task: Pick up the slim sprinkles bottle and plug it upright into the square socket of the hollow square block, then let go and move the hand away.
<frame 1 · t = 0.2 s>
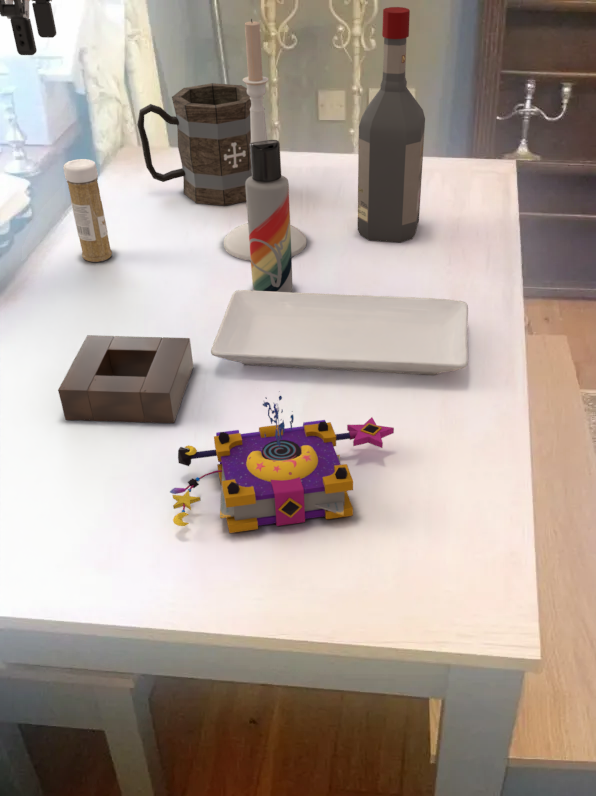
hand: (38, 45, 113), 29 cm above the table, tool pointing down, fingers open, 8 cm apart
mug: (205, 193, 155), on the table
hollow square block: (132, 392, 109), on the table
tray: (343, 350, 116), on the table
sprinkles bottle: (97, 257, 136), on the table
book: (289, 490, 95), on the table
lotion bottle: (273, 292, 128), on the table
candlestick: (265, 245, 140), on the table
liquor: (388, 232, 143), on the table
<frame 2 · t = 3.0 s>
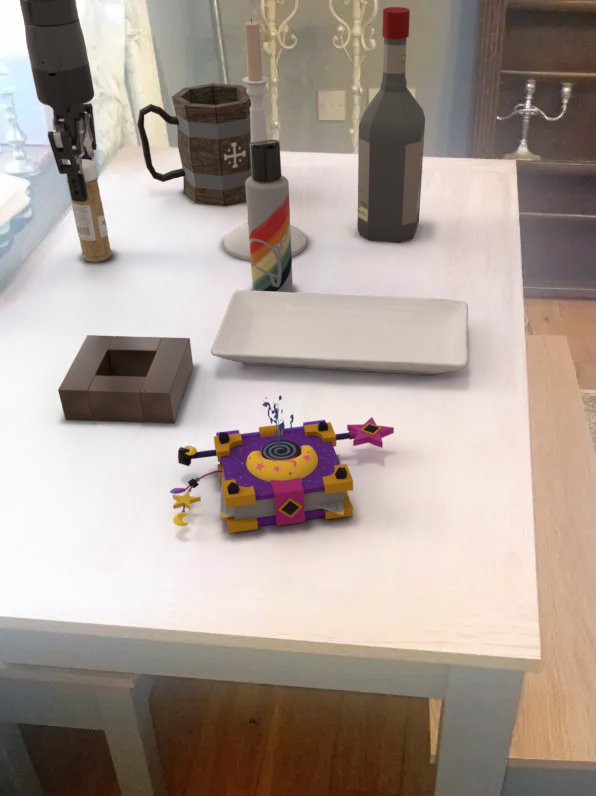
hand: (84, 193, 130), 9 cm above the table, tool pointing down, fingers closed on sprinkles bottle, 4 cm apart
sprinkles bottle: (97, 258, 136), on the table, touching gripper
everything else where it was.
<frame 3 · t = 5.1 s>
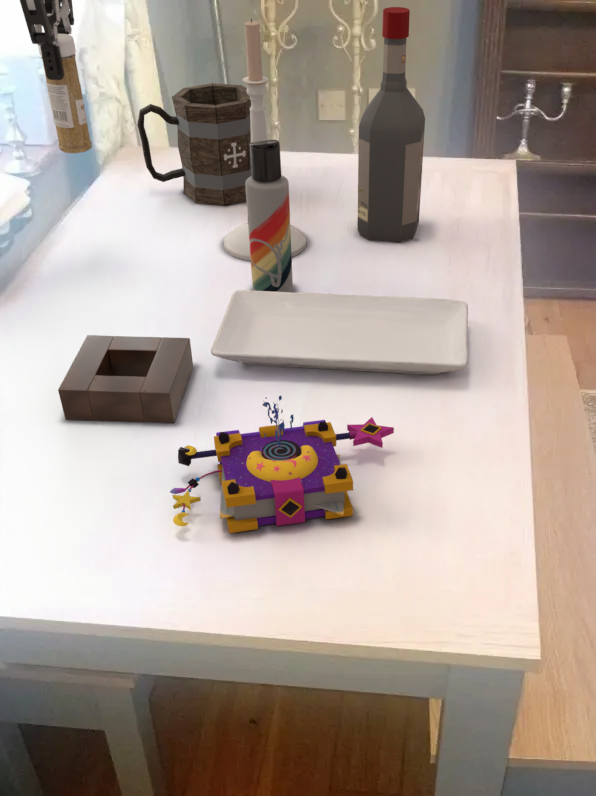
hand: (61, 72, 117), 25 cm above the table, tool pointing down, fingers closed on sprinkles bottle, 4 cm apart
sprinkles bottle: (75, 150, 124), point 16 cm above the table, touching gripper
everything else where it was.
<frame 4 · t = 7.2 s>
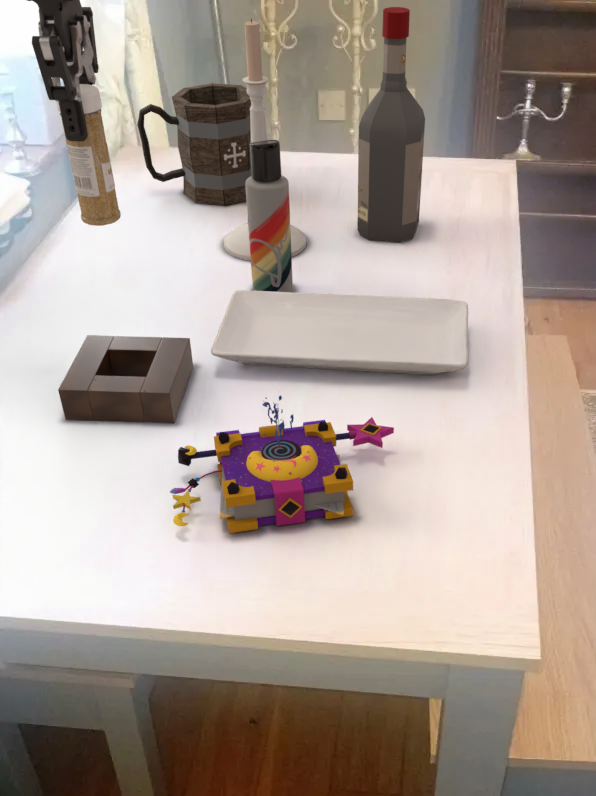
hand: (83, 131, 96), 27 cm above the table, tool pointing down, fingers closed on sprinkles bottle, 4 cm apart
sprinkles bottle: (101, 221, 103), point 17 cm above the table, touching gripper
everything else where it was.
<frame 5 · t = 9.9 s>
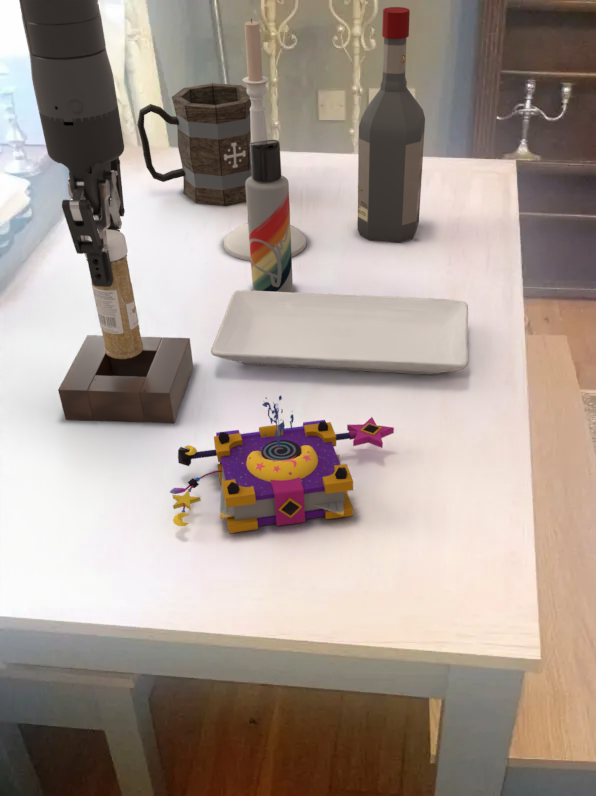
hand: (109, 273, 98), 15 cm above the table, tool pointing down, fingers closed on sprinkles bottle, 4 cm apart
sprinkles bottle: (124, 352, 105), point 5 cm above the table, touching gripper
everything else where it was.
when the fingers open (9 cm above the table, at t = 11.9 s): sprinkles bottle stays where it is, resting in hollow square block.
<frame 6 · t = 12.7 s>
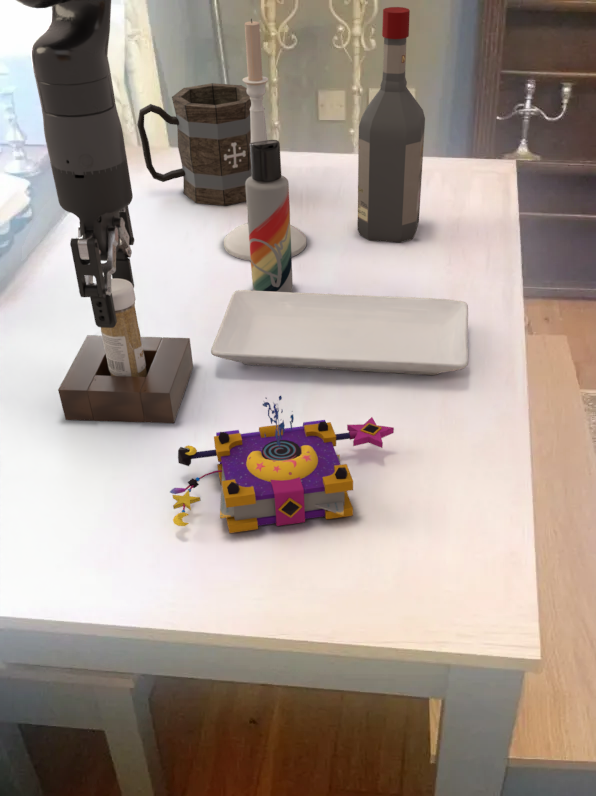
hand: (116, 307, 101), 11 cm above the table, tool pointing down, fingers open, 8 cm apart
sprinkles bottle: (132, 393, 109), resting in hollow square block
everything else where it was.
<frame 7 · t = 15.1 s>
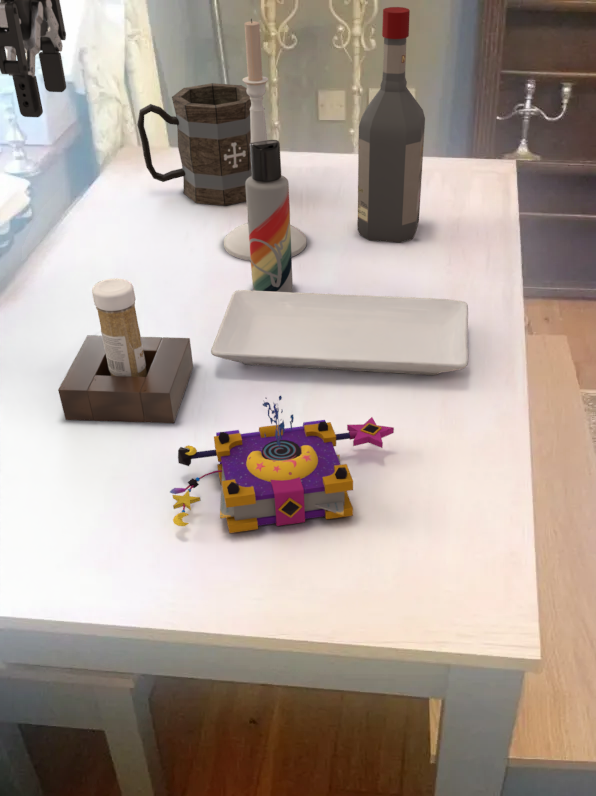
hand: (44, 103, 96), 29 cm above the table, tool pointing down, fingers open, 8 cm apart
nothing on the table moved.
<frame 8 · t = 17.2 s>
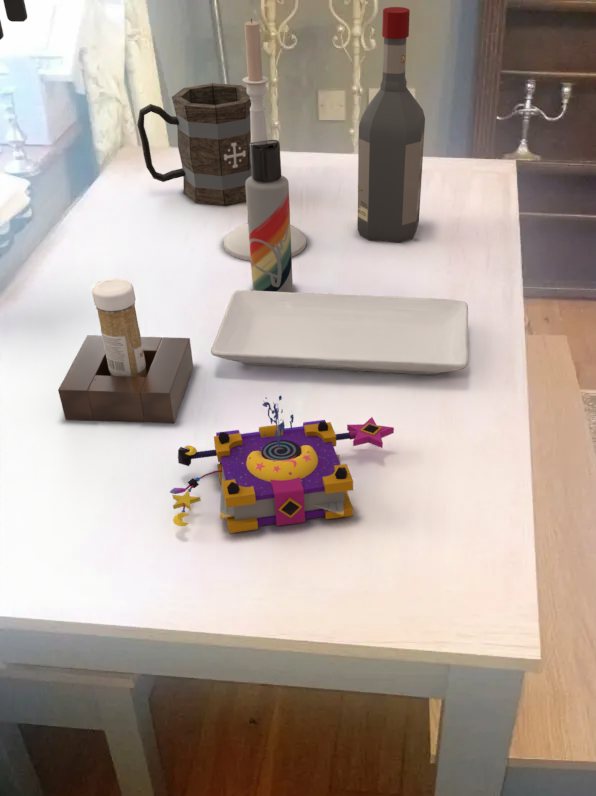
hand: (6, 30, 102), 33 cm above the table, tool pointing down, fingers open, 8 cm apart
nothing on the table moved.
at the end: sprinkles bottle 0.1 cm off-centre in the hollow square block, point 0.0 cm above the hollow square block's base; sprinkles bottle tilted 0°; the gripper is holding nothing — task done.
